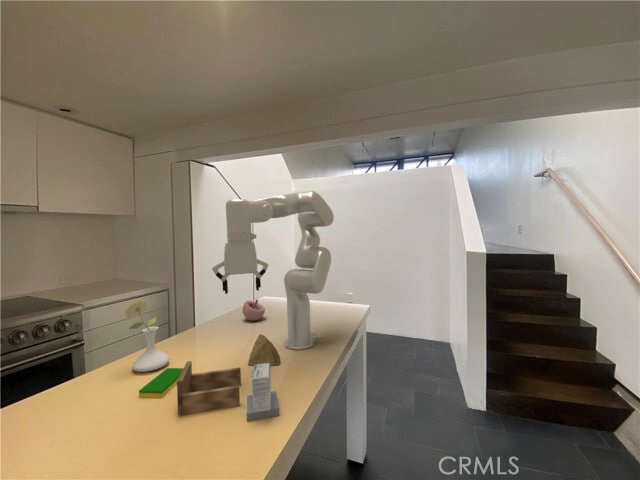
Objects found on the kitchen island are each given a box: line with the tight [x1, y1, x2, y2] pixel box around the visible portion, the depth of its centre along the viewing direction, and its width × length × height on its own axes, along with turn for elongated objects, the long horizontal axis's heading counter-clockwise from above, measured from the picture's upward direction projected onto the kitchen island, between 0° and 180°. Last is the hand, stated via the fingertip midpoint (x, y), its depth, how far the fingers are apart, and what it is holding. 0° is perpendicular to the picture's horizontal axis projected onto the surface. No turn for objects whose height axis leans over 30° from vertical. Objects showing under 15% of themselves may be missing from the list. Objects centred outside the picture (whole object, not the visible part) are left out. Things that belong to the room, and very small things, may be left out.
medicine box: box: [251, 363, 272, 412], centre depth 72 cm, size 8×4×9 cm, turn 10°
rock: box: [247, 333, 281, 366], centre depth 98 cm, size 11×9×10 cm
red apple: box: [242, 299, 266, 322], centre depth 150 cm, size 12×12×11 cm
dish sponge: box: [138, 367, 184, 399], centre depth 86 cm, size 7×14×2 cm, turn 177°
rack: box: [176, 360, 242, 417], centre depth 78 cm, size 15×12×9 cm
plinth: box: [246, 390, 280, 422], centre depth 73 cm, size 8×8×2 cm
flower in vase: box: [123, 298, 170, 373], centre depth 97 cm, size 13×11×25 cm
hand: (242, 291), depth 89 cm, fingers open, 9 cm apart
